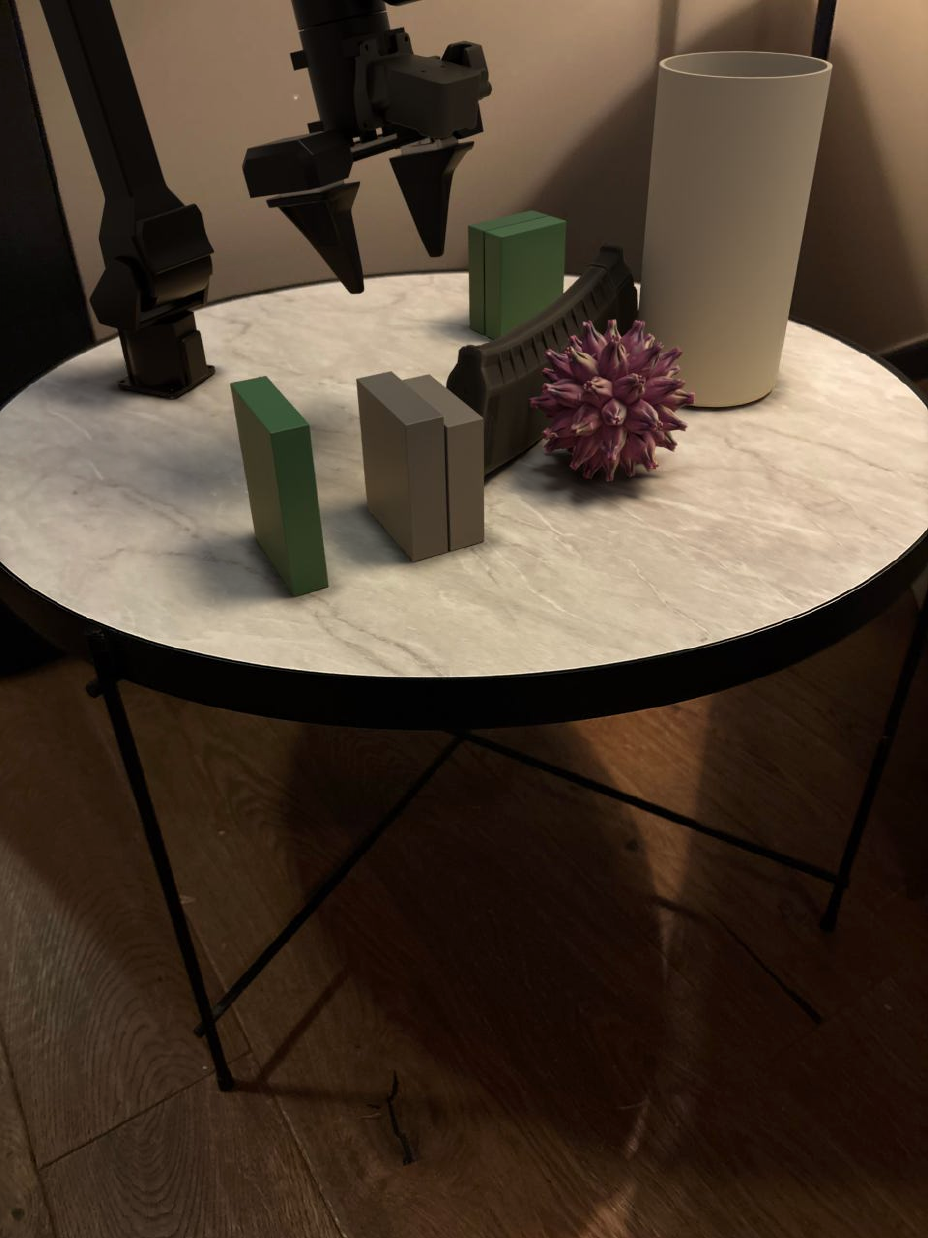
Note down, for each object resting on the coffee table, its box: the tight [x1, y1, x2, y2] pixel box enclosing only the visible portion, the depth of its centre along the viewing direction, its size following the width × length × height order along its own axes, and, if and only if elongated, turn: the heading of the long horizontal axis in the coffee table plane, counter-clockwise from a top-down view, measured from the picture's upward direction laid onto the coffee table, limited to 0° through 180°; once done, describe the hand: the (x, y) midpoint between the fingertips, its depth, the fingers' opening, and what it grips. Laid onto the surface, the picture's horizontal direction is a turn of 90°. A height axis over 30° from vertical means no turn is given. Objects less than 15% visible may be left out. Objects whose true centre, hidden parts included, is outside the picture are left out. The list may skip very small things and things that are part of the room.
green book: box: [229, 375, 330, 597], centre depth 65 cm, size 8×2×12 cm, turn 27°
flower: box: [529, 319, 695, 482], centre depth 74 cm, size 12×12×12 cm
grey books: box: [355, 370, 485, 563], centre depth 69 cm, size 8×5×10 cm
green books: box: [467, 209, 567, 340], centre depth 99 cm, size 8×5×10 cm, turn 127°
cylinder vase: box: [637, 51, 833, 408], centre depth 83 cm, size 12×12×25 cm
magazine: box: [445, 242, 639, 477], centre depth 81 cm, size 17×3×30 cm
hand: (398, 274), depth 71 cm, fingers open, 9 cm apart
